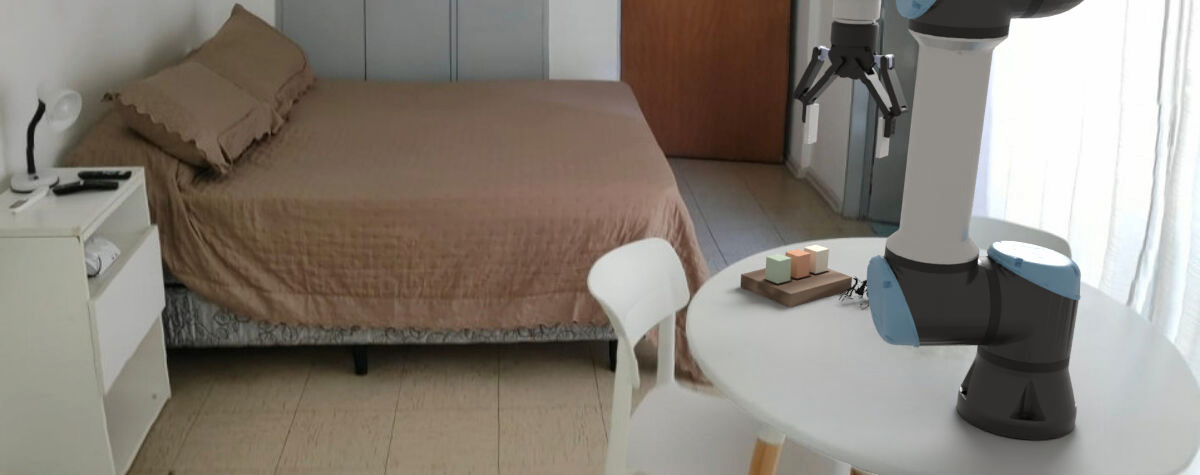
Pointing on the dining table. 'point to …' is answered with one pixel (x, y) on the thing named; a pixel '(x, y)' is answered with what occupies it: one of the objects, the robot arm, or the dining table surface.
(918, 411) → the dining table surface
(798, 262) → the button terracotta
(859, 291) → the creature
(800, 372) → the dining table surface
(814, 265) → the button cream
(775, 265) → the button sage
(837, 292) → the panel
